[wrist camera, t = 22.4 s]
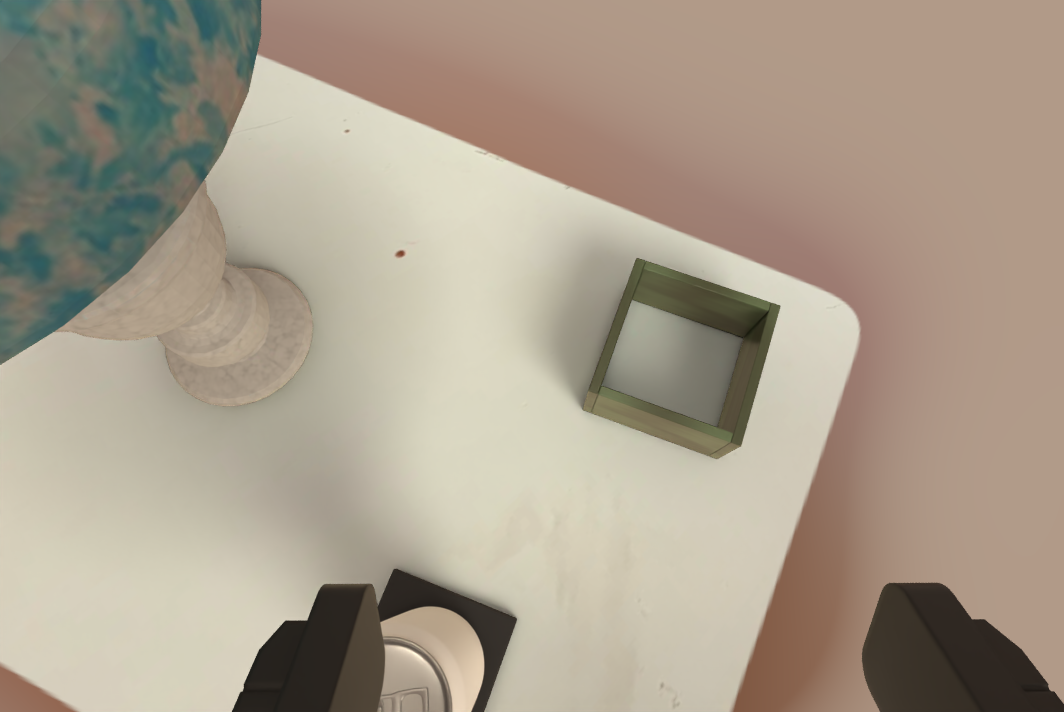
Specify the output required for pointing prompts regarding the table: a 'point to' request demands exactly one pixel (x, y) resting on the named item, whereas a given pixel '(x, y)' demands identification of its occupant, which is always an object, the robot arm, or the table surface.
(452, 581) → the table surface
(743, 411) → the caddy
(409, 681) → the can
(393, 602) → the mat
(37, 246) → the table lamp
